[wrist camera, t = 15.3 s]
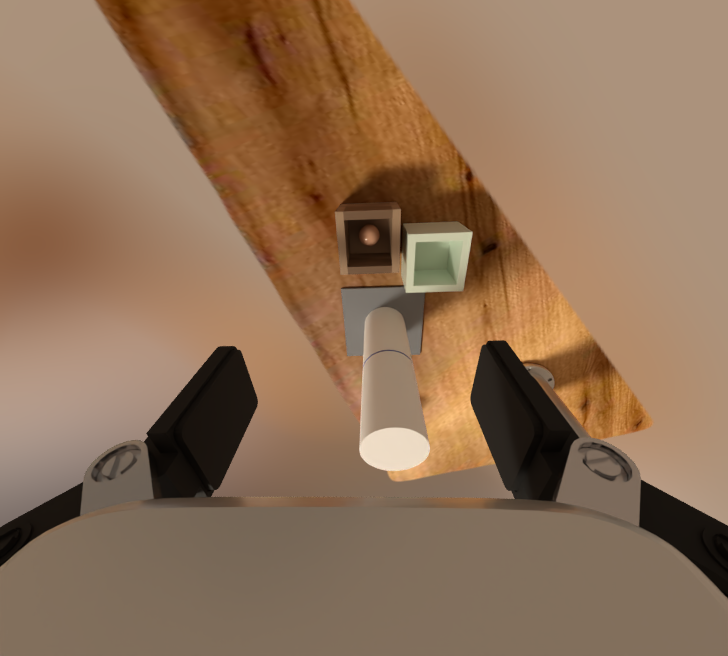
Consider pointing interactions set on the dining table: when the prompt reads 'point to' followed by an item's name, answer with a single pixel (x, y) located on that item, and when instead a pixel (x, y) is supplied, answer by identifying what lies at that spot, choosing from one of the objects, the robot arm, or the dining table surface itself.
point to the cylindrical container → (390, 396)
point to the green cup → (435, 256)
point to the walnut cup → (368, 257)
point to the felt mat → (371, 298)
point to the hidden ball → (369, 235)
